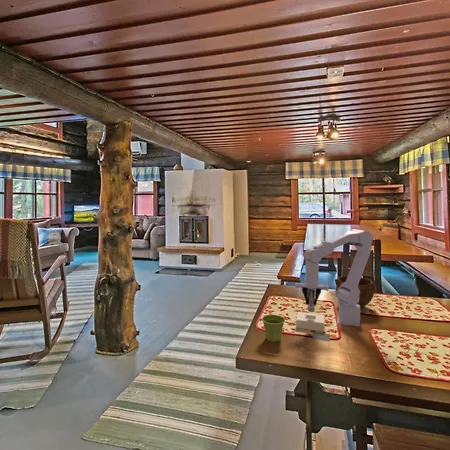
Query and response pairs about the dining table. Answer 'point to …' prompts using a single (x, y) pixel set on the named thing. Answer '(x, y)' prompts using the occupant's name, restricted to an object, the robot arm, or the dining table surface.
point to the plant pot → (273, 327)
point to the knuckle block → (310, 321)
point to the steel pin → (311, 300)
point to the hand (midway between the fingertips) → (311, 304)
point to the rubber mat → (321, 336)
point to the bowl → (364, 287)
